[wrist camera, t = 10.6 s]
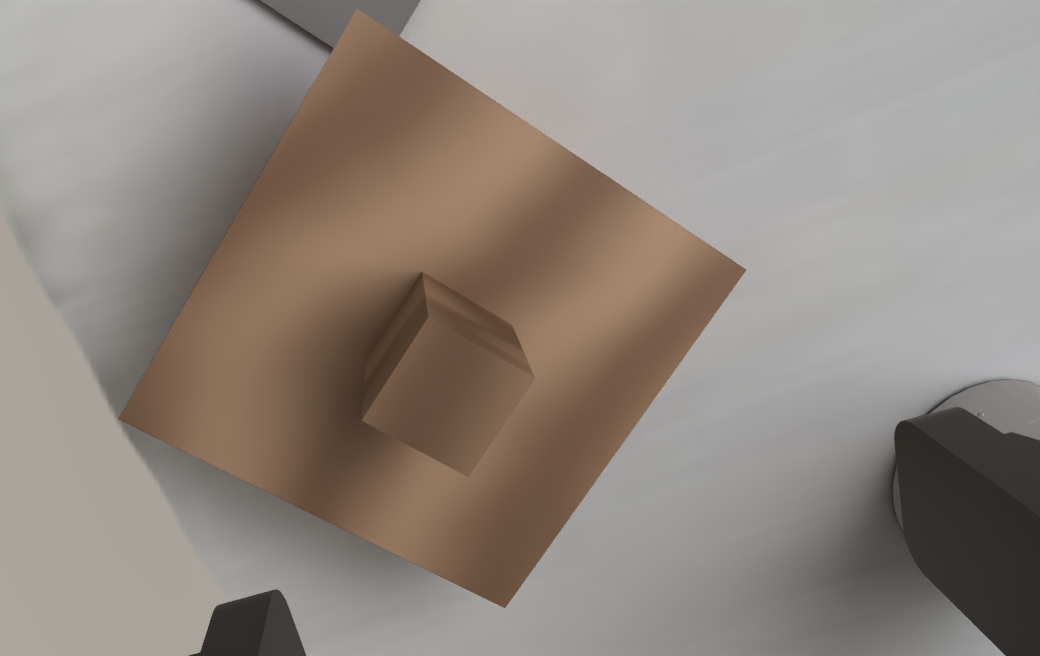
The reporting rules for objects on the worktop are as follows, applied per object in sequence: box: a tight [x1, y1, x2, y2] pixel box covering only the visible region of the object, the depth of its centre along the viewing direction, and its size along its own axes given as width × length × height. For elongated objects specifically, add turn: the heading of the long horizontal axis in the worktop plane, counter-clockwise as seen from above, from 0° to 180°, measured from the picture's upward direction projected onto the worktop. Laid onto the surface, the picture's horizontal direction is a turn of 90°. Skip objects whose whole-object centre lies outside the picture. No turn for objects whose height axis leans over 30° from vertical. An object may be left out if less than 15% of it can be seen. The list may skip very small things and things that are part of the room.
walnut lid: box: [118, 9, 746, 608], centre depth 28 cm, size 15×15×6 cm
